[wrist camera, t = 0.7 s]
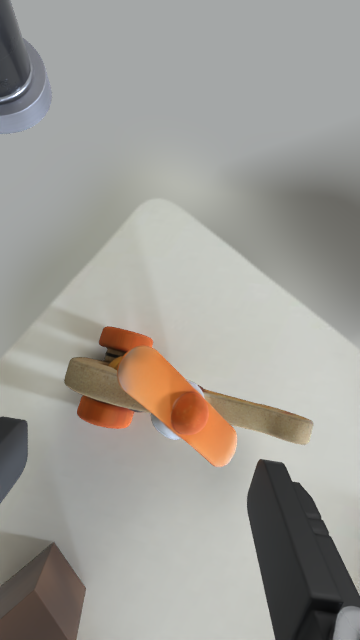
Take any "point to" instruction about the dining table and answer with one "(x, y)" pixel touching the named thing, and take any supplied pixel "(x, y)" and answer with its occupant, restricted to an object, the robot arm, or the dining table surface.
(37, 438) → the dining table surface
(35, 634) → the walnut block
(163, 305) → the dining table surface
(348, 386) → the dining table surface
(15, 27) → the robot arm
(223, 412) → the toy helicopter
